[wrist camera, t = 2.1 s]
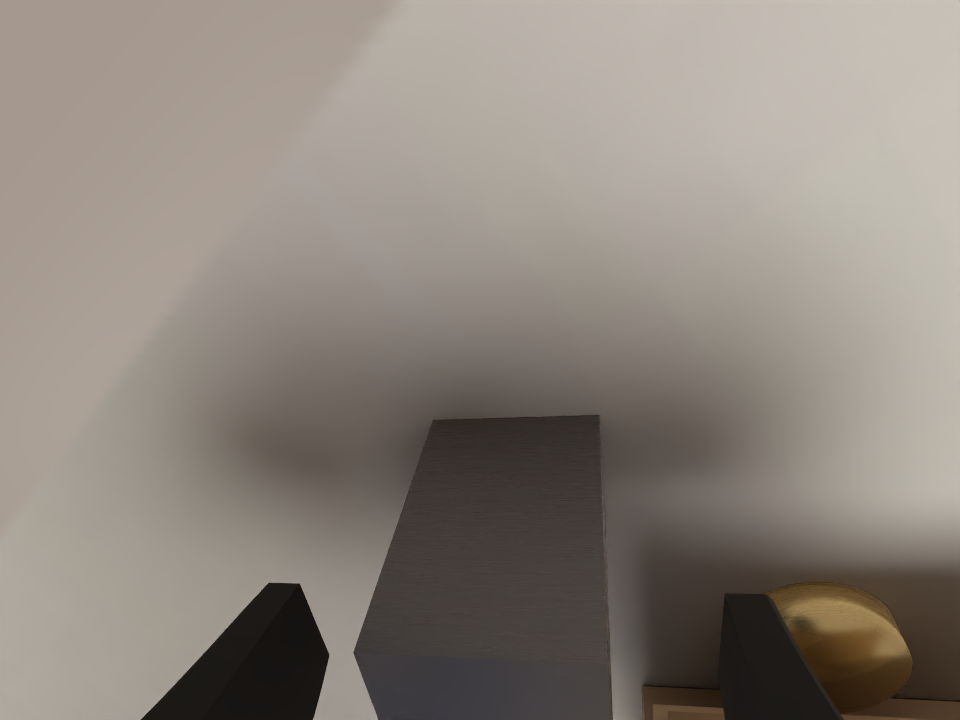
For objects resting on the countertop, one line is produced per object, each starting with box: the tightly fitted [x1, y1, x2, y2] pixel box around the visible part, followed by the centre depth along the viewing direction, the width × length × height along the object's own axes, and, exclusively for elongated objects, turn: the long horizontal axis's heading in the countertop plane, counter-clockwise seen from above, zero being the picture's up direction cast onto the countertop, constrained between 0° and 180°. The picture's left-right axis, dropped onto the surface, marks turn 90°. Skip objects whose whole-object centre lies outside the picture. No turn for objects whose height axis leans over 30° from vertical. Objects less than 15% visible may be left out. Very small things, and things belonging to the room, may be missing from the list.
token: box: [765, 582, 913, 714], centre depth 15 cm, size 4×4×1 cm
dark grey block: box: [353, 415, 613, 720], centre depth 13 cm, size 8×4×6 cm, turn 8°
